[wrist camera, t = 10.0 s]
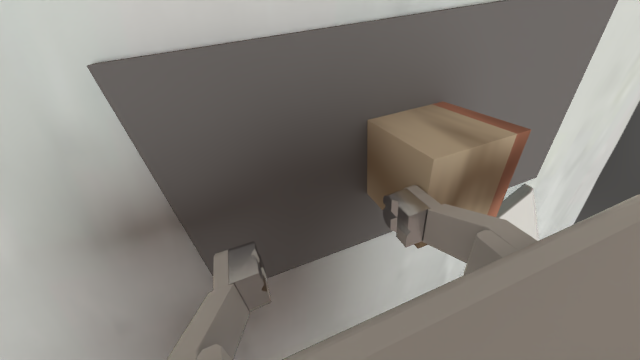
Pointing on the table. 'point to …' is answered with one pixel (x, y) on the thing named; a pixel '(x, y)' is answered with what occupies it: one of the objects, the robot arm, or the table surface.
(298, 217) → the rubber mat
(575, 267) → the robot arm
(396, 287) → the table surface
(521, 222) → the external hard drive
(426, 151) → the maple block
